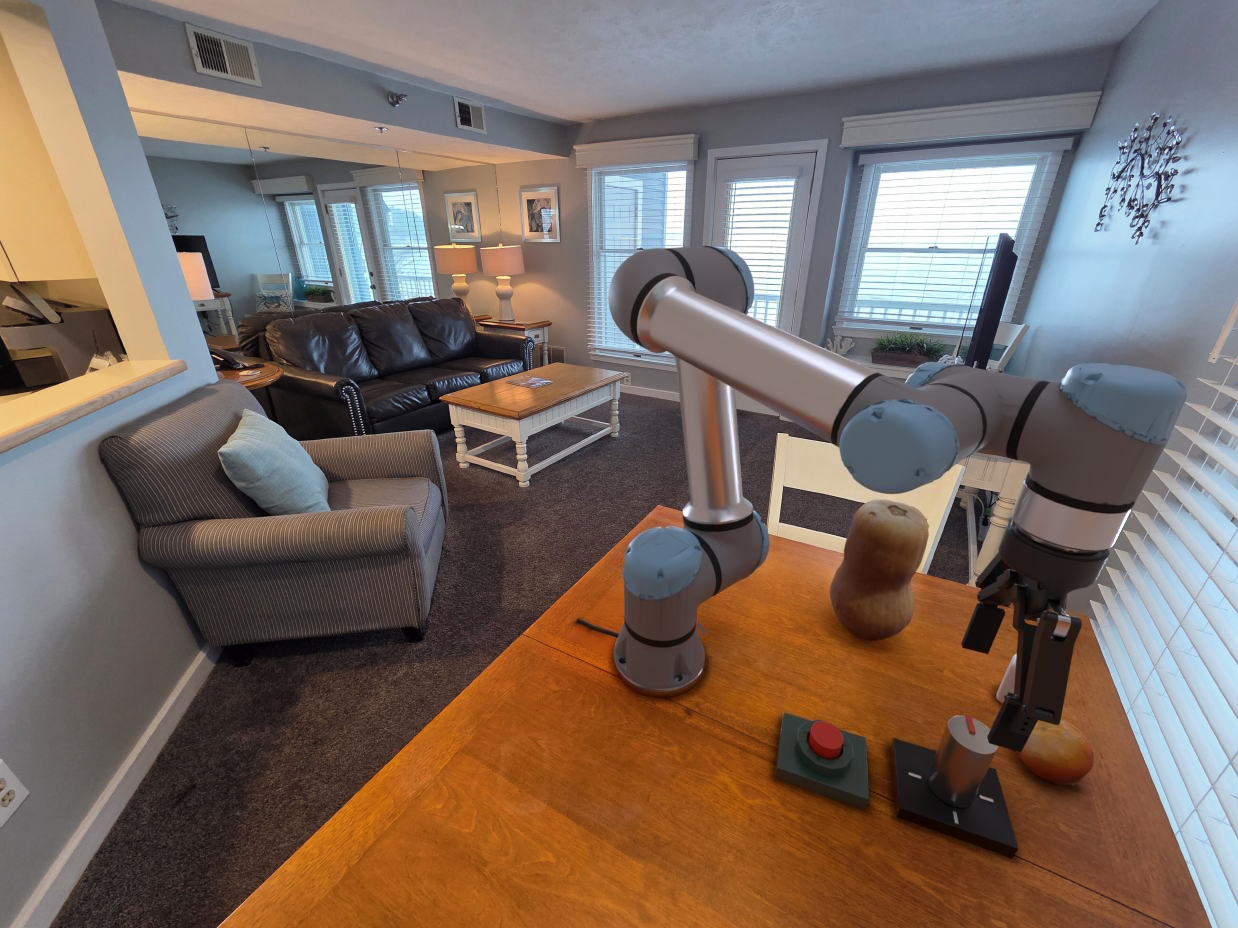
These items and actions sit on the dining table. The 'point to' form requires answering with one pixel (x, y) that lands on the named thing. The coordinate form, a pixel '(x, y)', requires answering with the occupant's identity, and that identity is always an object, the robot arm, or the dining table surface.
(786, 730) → the button box
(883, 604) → the butternut squash
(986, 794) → the dial panel
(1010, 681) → the eye dropper bottle
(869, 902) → the dining table surface
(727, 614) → the dining table surface
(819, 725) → the button
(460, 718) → the dining table surface
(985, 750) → the dial
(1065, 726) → the fruit
